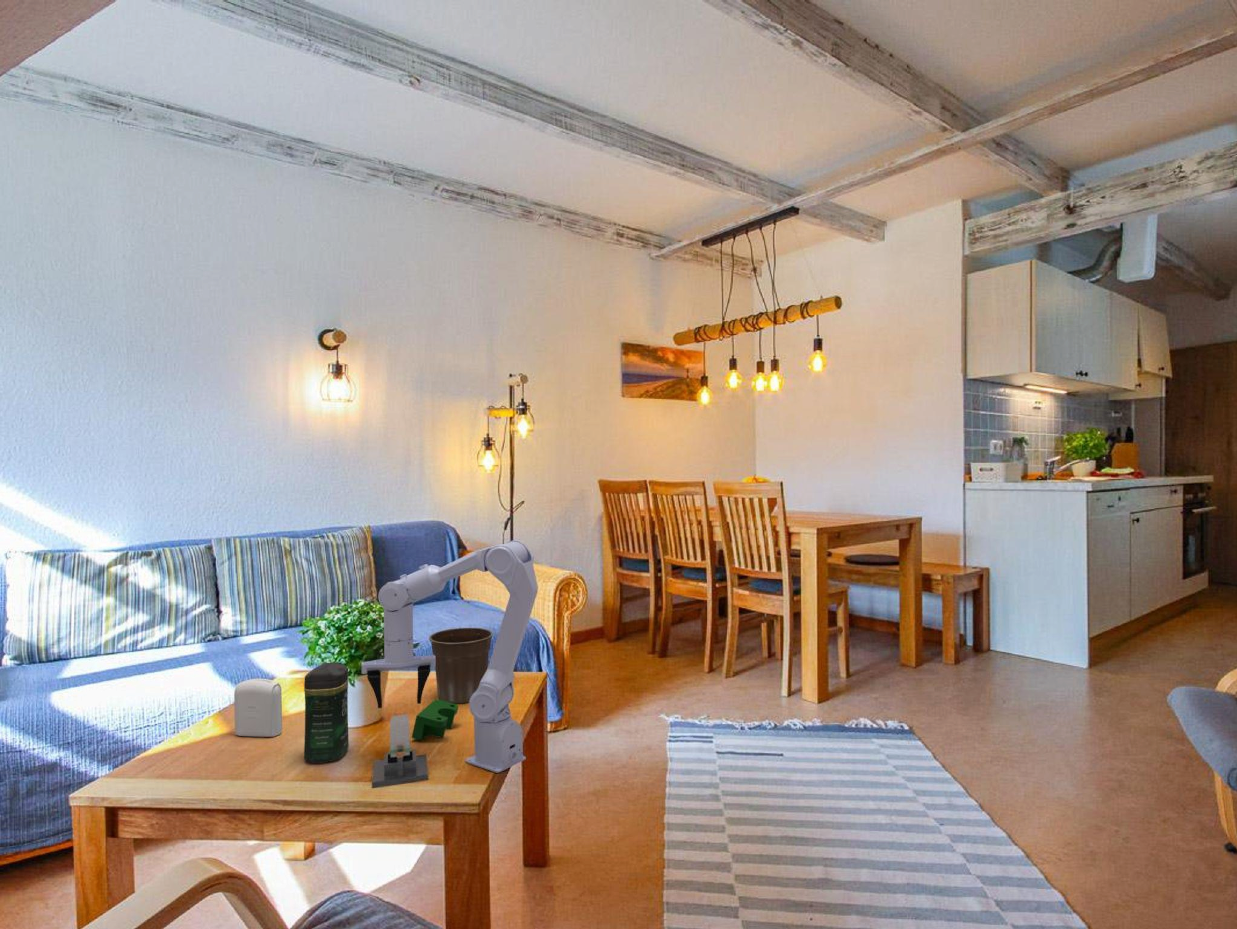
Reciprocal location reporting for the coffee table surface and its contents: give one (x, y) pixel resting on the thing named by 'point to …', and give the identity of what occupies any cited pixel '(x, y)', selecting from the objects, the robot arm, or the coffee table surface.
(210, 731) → the coffee table surface
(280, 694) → the photo printer
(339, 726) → the coffee jar
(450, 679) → the plant pot
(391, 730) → the pull-out drawer
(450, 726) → the clamp
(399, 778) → the grey slotted holder
